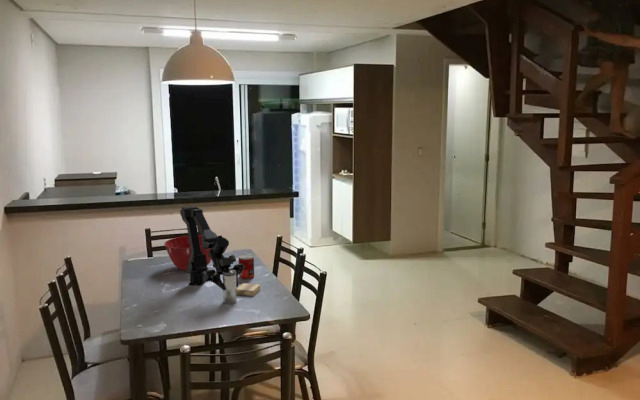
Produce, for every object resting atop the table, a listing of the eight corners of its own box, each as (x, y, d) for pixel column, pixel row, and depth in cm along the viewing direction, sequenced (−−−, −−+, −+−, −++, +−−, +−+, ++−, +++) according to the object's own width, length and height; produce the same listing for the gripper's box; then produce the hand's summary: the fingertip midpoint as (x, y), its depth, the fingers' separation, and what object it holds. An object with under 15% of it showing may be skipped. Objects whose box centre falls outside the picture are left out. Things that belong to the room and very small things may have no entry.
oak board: (235, 294, 245) (235, 289, 245) (243, 288, 254) (243, 283, 253) (253, 295, 243) (253, 290, 242) (260, 289, 251) (260, 284, 251)
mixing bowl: (164, 277, 272) (162, 248, 269) (167, 262, 299) (165, 236, 296) (219, 273, 278) (218, 245, 276) (217, 259, 305) (215, 233, 303)
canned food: (251, 279, 267) (251, 258, 265) (237, 278, 269) (236, 258, 267) (256, 274, 275) (255, 254, 273) (242, 274, 276) (241, 254, 274)
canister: (220, 303, 233) (220, 273, 231) (226, 298, 239) (226, 269, 237) (233, 304, 232) (232, 274, 229) (239, 299, 238) (238, 270, 235)
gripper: (204, 253, 229) (217, 283, 222) (241, 246, 240) (255, 275, 234) (197, 266, 236) (210, 296, 230) (234, 259, 248) (246, 287, 241)
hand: (230, 288), depth 233 cm, fingers closed on canister, 6 cm apart
